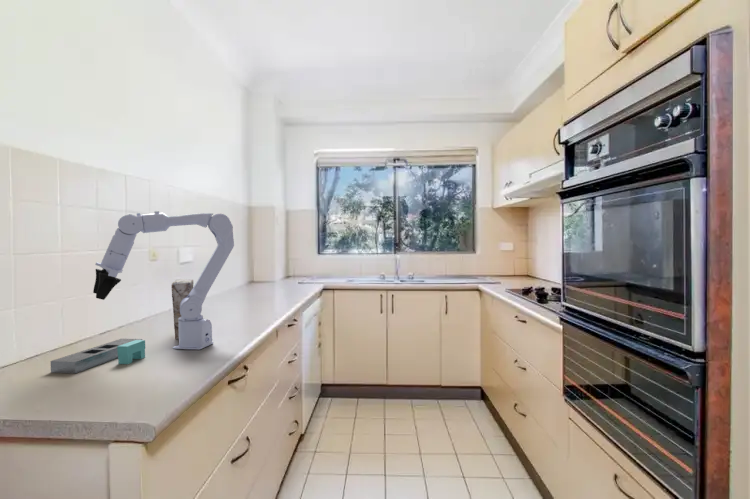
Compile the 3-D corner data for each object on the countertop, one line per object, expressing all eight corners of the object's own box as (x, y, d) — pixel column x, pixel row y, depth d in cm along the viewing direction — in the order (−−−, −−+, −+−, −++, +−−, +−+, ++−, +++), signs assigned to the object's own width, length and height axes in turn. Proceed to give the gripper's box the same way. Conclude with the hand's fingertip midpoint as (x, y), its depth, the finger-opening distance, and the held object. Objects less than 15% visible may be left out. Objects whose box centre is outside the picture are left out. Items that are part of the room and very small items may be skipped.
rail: (142, 348, 128) (142, 339, 128) (75, 373, 104) (75, 362, 104) (121, 347, 129) (121, 338, 129) (50, 372, 105) (50, 361, 105)
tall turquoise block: (136, 356, 119) (135, 339, 118) (145, 357, 118) (145, 340, 118) (117, 364, 112) (117, 346, 112) (127, 364, 111) (127, 346, 111)
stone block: (195, 338, 141) (193, 281, 140) (172, 340, 138) (171, 282, 137) (194, 330, 153) (193, 278, 152) (174, 332, 150) (172, 279, 149)
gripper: (99, 245, 123) (80, 287, 121) (105, 251, 112) (84, 297, 110) (124, 253, 128) (107, 294, 126) (132, 259, 117) (113, 303, 115)
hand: (98, 296), depth 118 cm, fingers open, 7 cm apart
